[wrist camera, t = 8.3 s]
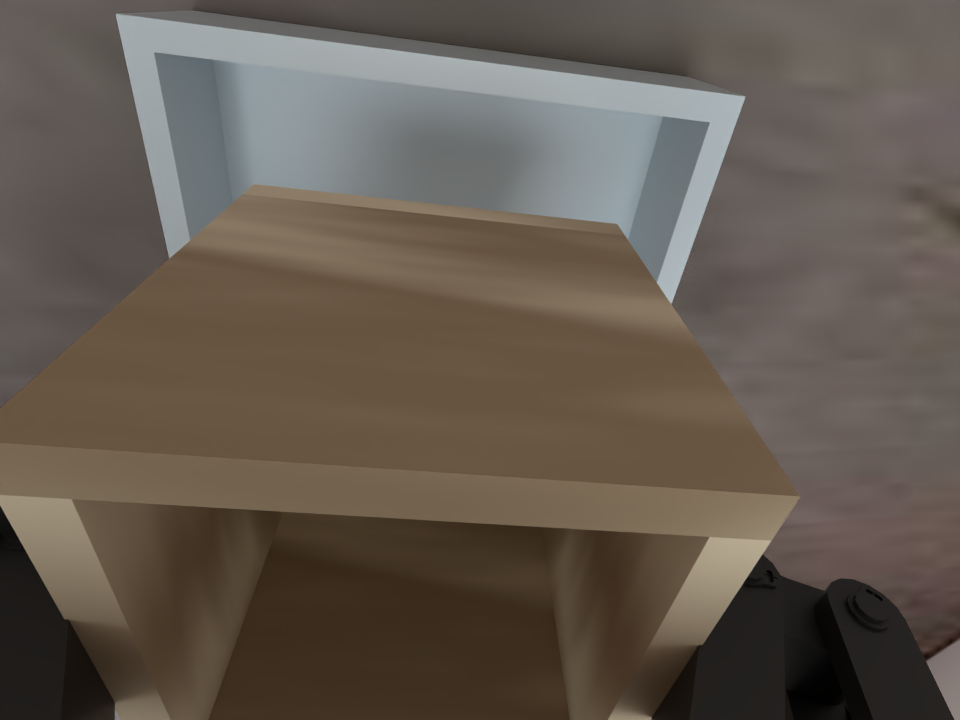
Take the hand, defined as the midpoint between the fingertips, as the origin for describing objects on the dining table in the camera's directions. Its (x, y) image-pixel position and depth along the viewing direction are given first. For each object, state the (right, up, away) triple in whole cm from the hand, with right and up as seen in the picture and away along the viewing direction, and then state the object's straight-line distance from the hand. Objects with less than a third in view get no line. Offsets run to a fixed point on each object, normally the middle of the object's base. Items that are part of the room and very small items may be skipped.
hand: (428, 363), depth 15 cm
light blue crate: (-1, +8, +12) cm, 15 cm away
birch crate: (0, 0, 0) cm, 0 cm away
